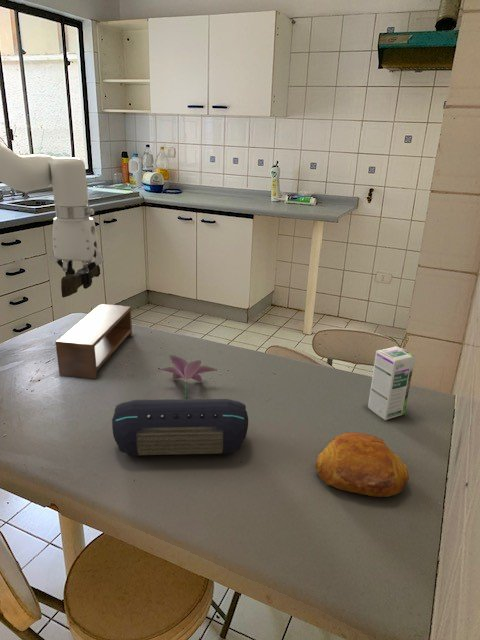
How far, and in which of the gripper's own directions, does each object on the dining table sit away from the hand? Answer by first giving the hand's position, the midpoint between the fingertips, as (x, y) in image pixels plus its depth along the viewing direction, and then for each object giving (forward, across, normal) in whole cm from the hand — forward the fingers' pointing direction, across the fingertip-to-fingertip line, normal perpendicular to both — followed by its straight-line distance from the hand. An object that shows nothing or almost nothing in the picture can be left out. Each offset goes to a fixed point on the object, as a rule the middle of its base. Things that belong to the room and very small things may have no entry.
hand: (79, 285), depth 116 cm
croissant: (+19, -68, +36) cm, 79 cm away
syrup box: (+19, -76, +14) cm, 79 cm away
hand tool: (0, -1, 0) cm, 1 cm away
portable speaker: (+19, -35, +35) cm, 53 cm away
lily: (+19, -31, +13) cm, 38 cm away
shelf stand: (+19, -4, 0) cm, 19 cm away
